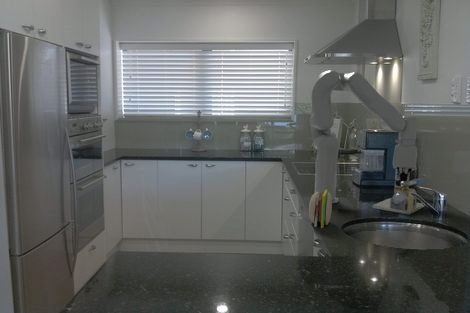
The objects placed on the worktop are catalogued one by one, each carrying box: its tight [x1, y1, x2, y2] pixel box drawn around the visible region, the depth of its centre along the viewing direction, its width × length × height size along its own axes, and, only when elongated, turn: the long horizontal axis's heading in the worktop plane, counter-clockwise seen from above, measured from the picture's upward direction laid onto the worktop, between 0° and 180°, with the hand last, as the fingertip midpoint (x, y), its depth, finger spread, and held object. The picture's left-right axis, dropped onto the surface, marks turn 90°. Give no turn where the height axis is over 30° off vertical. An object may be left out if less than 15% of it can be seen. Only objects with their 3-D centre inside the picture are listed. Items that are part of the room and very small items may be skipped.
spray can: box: [393, 167, 411, 194], centre depth 219 cm, size 7×7×20 cm
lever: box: [401, 178, 424, 187], centre depth 194 cm, size 16×4×2 cm, turn 130°
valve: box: [372, 186, 425, 215], centre depth 192 cm, size 20×16×10 cm
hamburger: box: [308, 190, 333, 229], centre depth 163 cm, size 12×8×12 cm
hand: (403, 181), depth 202 cm, fingers closed
